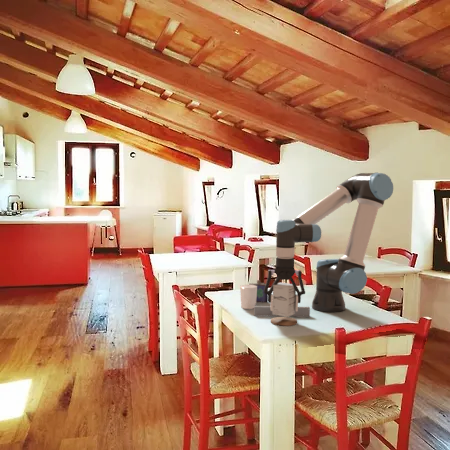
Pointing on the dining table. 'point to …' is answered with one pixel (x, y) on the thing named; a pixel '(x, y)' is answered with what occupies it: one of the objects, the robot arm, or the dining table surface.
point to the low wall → (267, 312)
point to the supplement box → (284, 299)
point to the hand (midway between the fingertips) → (283, 310)
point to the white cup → (248, 296)
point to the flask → (260, 292)
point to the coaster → (284, 321)
